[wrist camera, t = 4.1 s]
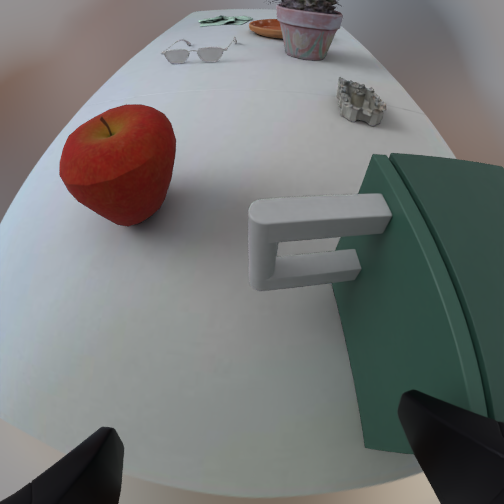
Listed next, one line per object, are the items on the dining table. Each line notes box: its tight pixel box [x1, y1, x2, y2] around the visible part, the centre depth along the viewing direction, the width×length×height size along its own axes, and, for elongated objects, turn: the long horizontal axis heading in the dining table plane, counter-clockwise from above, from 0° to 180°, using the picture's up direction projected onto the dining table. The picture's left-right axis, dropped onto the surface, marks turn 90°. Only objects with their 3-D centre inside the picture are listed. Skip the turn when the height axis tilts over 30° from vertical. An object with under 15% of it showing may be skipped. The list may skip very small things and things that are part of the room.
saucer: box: [249, 19, 283, 39], centre depth 70 cm, size 23×23×4 cm
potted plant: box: [276, 0, 343, 60], centre depth 48 cm, size 18×20×25 cm
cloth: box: [199, 16, 253, 27], centre depth 83 cm, size 20×22×2 cm
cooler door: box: [248, 154, 488, 454], centre depth 15 cm, size 8×16×13 cm, turn 6°
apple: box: [59, 105, 176, 226], centre depth 24 cm, size 11×11×12 cm
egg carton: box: [337, 77, 386, 126], centre depth 40 cm, size 11×8×4 cm
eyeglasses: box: [161, 37, 237, 64], centre depth 57 cm, size 15×18×4 cm
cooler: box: [389, 153, 504, 423], centre depth 16 cm, size 12×16×13 cm
